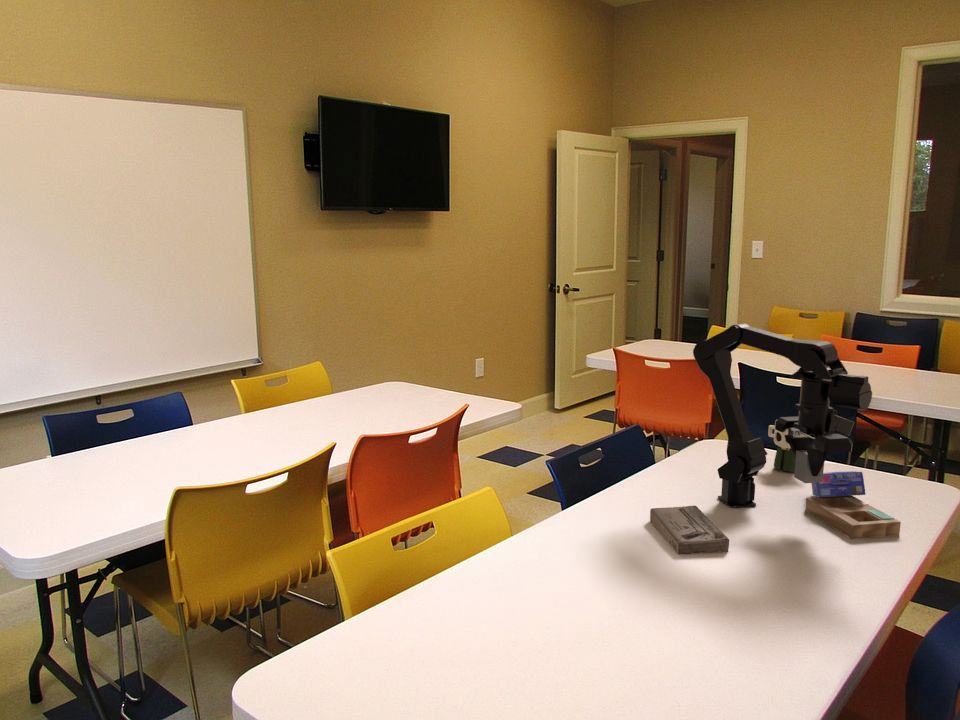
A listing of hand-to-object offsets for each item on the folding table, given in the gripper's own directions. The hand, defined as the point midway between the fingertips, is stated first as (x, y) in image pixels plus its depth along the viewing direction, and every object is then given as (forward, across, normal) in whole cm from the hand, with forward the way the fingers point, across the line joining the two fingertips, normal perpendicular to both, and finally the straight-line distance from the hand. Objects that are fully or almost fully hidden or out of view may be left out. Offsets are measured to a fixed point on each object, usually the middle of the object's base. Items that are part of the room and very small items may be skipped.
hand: (808, 472), depth 158 cm
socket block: (+12, -1, -10) cm, 15 cm away
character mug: (+12, +34, -17) cm, 40 cm away
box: (+12, -2, +28) cm, 30 cm away
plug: (+2, 0, 0) cm, 2 cm away
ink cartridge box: (+8, +14, -17) cm, 23 cm away
